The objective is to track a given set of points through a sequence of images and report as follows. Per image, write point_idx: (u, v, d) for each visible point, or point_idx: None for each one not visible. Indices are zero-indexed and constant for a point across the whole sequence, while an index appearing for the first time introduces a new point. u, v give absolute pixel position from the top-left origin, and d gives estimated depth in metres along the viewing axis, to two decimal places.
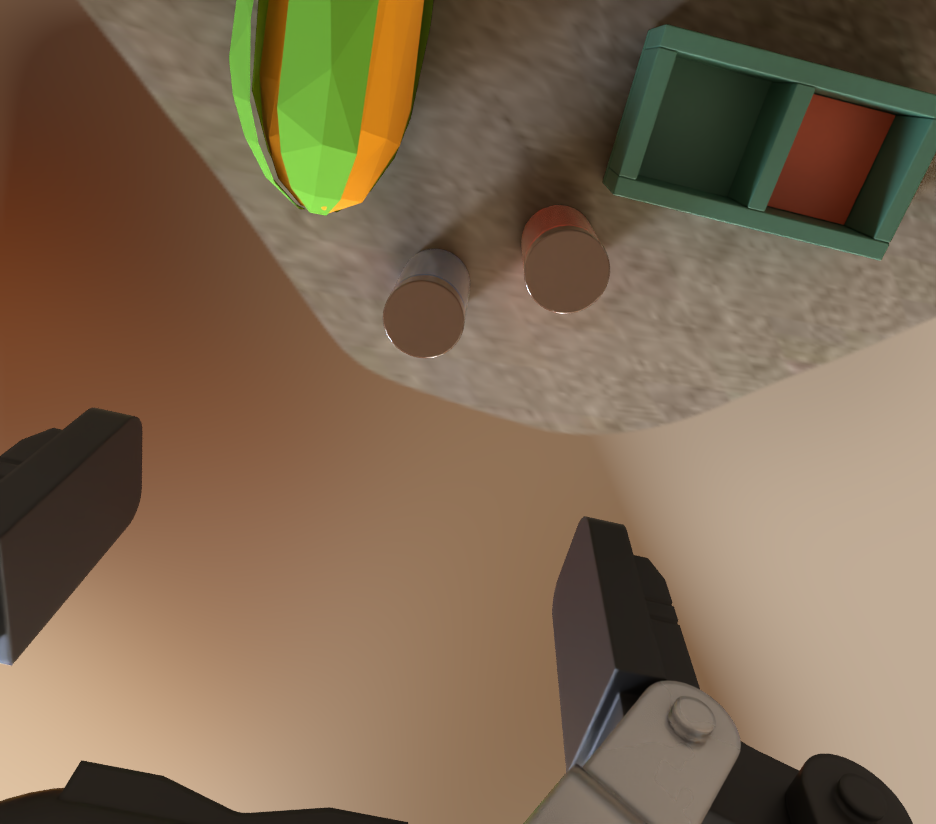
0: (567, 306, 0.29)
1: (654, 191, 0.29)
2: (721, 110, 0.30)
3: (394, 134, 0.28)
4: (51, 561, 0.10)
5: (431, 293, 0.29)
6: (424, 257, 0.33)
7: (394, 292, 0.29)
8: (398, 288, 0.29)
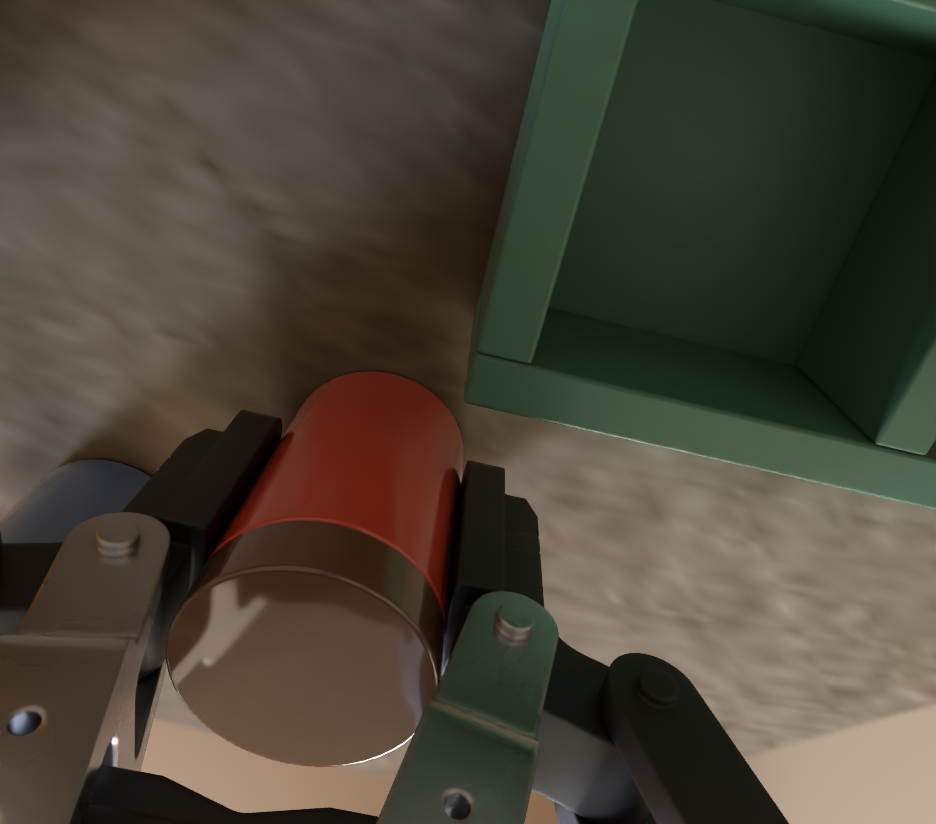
0: (320, 753, 0.09)
1: (589, 397, 0.09)
2: (787, 144, 0.11)
3: None
4: None
5: None
6: (28, 506, 0.13)
7: None
8: None
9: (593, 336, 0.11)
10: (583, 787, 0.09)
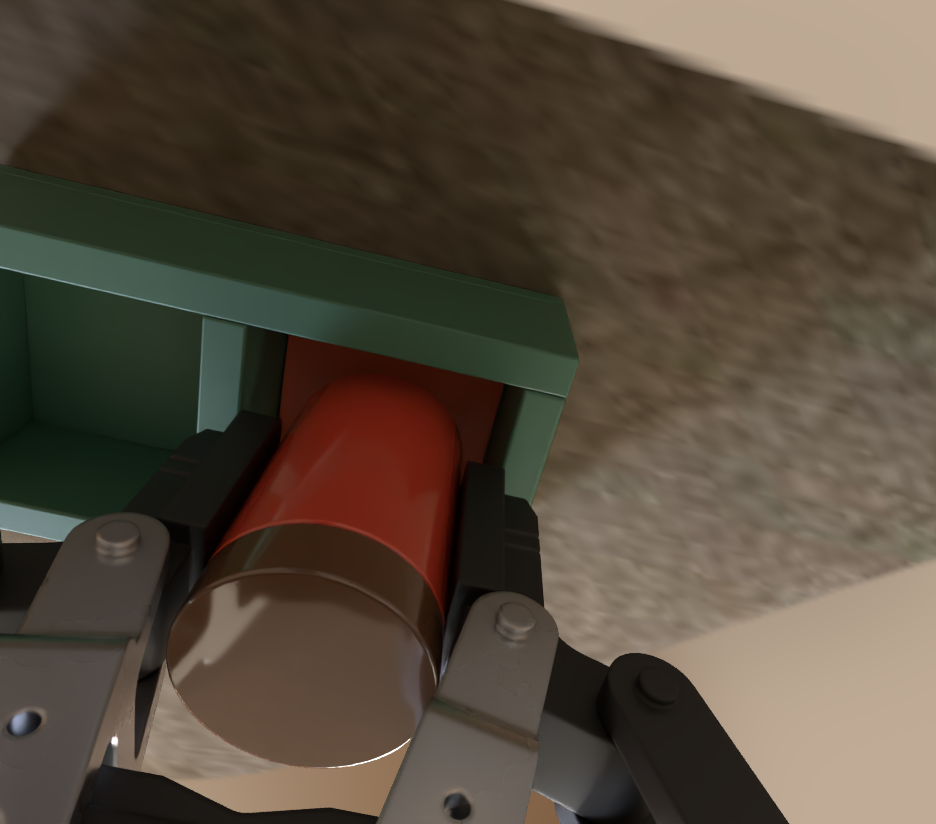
0: (320, 755, 0.09)
1: None
2: (177, 320, 0.15)
3: None
4: None
5: None
6: None
7: None
8: None
9: (55, 452, 0.16)
10: (583, 787, 0.09)
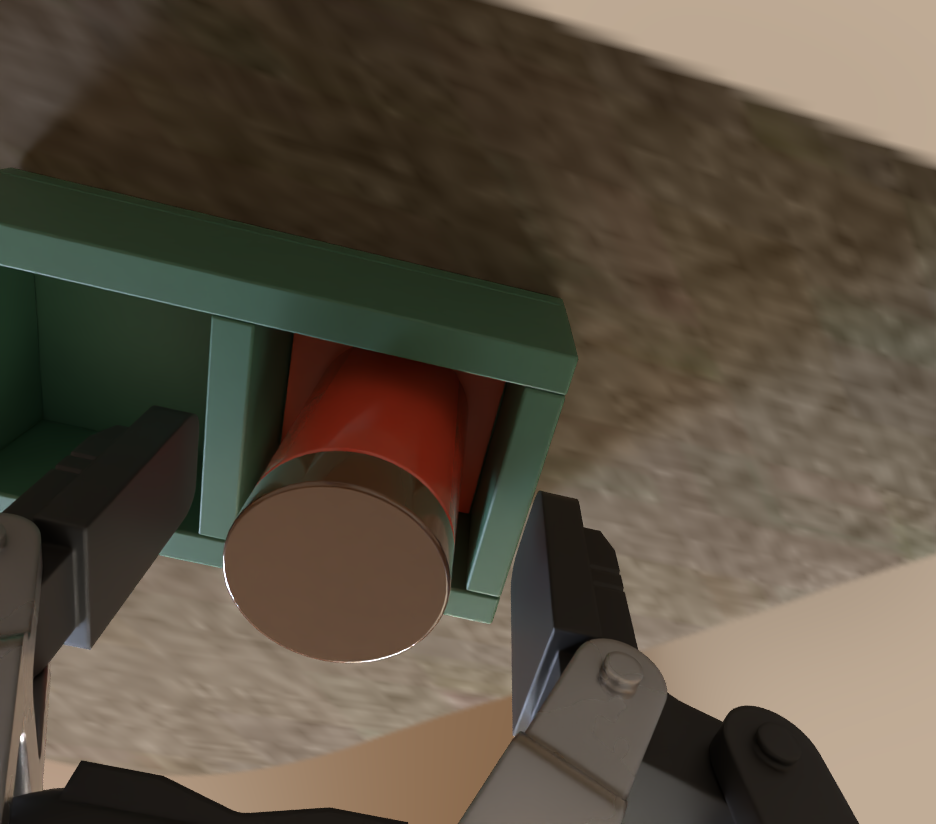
0: (349, 650, 0.11)
1: (1, 504, 0.14)
2: (184, 320, 0.15)
3: None
4: (124, 550, 0.10)
5: None
6: None
7: None
8: None
9: (64, 450, 0.16)
10: None
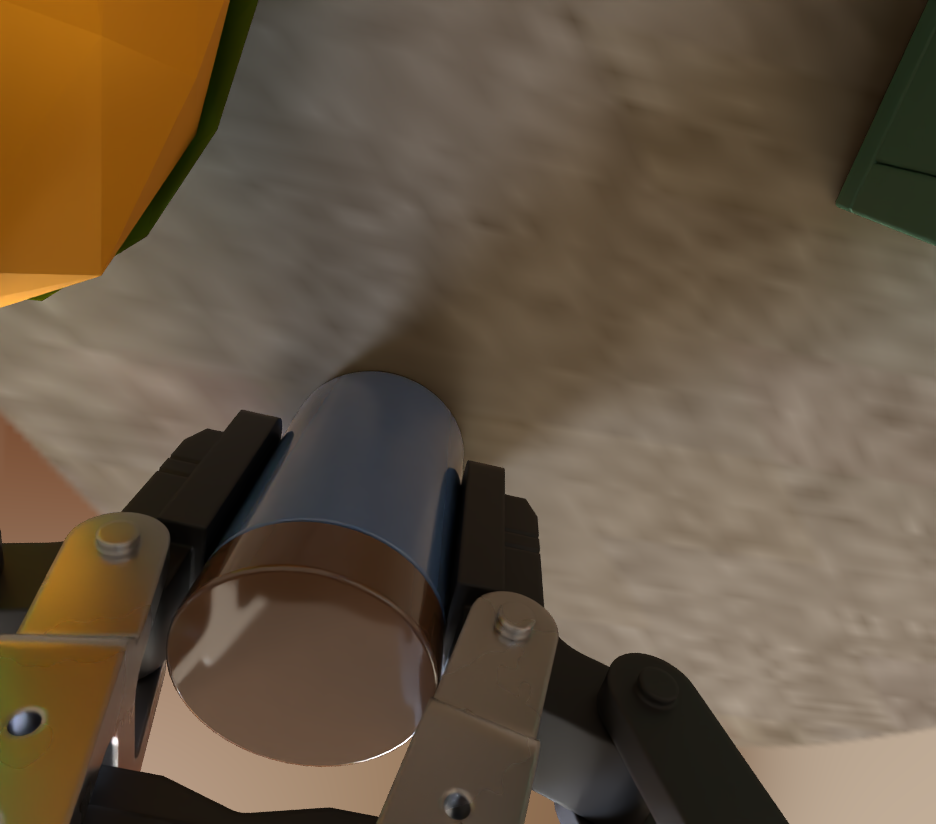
0: None
1: None
2: None
3: (152, 24, 0.07)
4: None
5: (321, 605, 0.08)
6: (335, 411, 0.12)
7: (192, 599, 0.08)
8: (205, 587, 0.08)
9: None
10: (583, 787, 0.09)
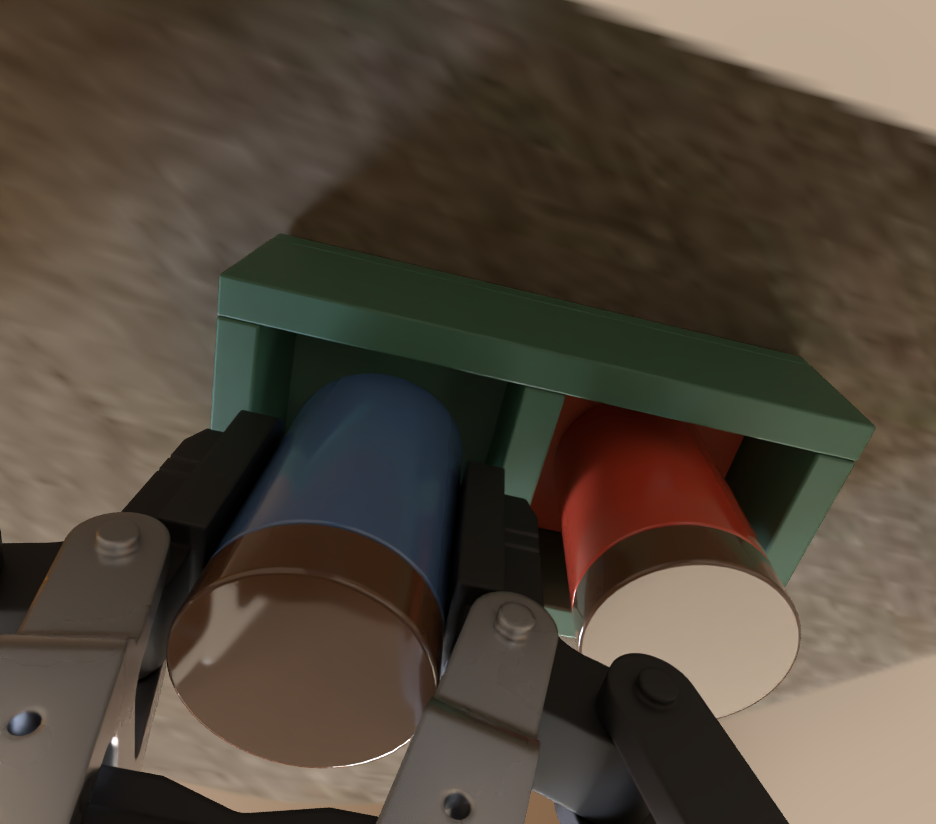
0: None
1: None
2: (435, 377, 0.16)
3: None
4: None
5: (321, 607, 0.08)
6: (335, 413, 0.12)
7: (192, 602, 0.08)
8: (205, 589, 0.08)
9: None
10: (583, 787, 0.09)
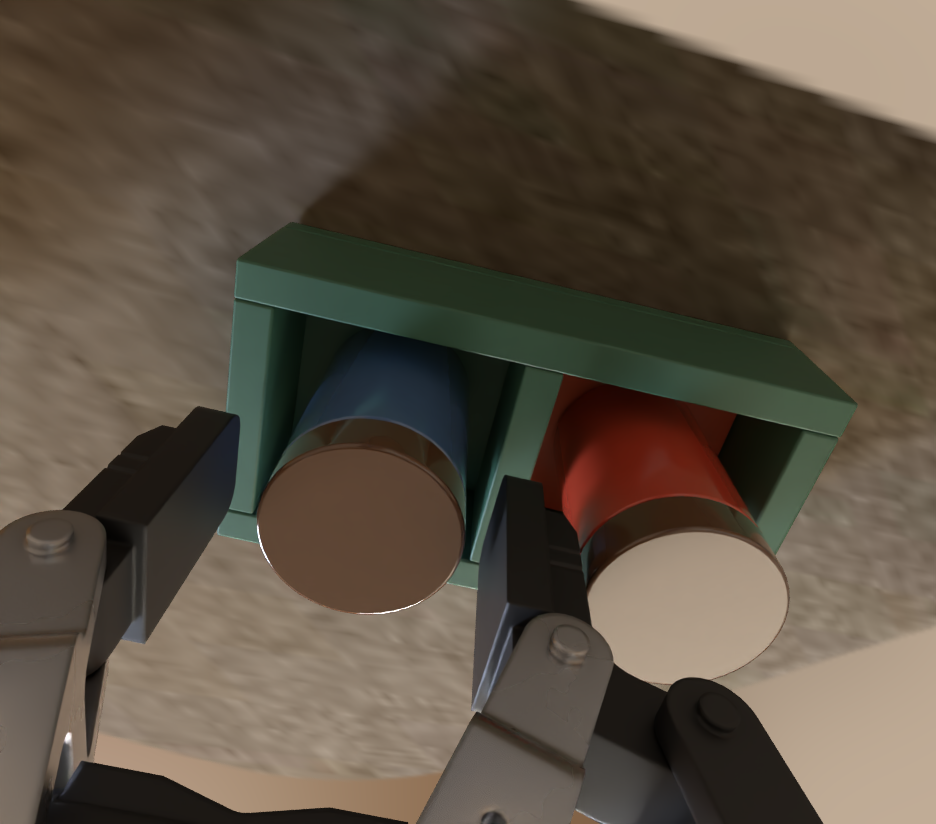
0: (678, 673, 0.12)
1: None
2: None
3: None
4: (175, 547, 0.10)
5: (379, 475, 0.11)
6: (369, 350, 0.15)
7: (281, 472, 0.11)
8: (291, 462, 0.11)
9: None
10: (640, 814, 0.08)
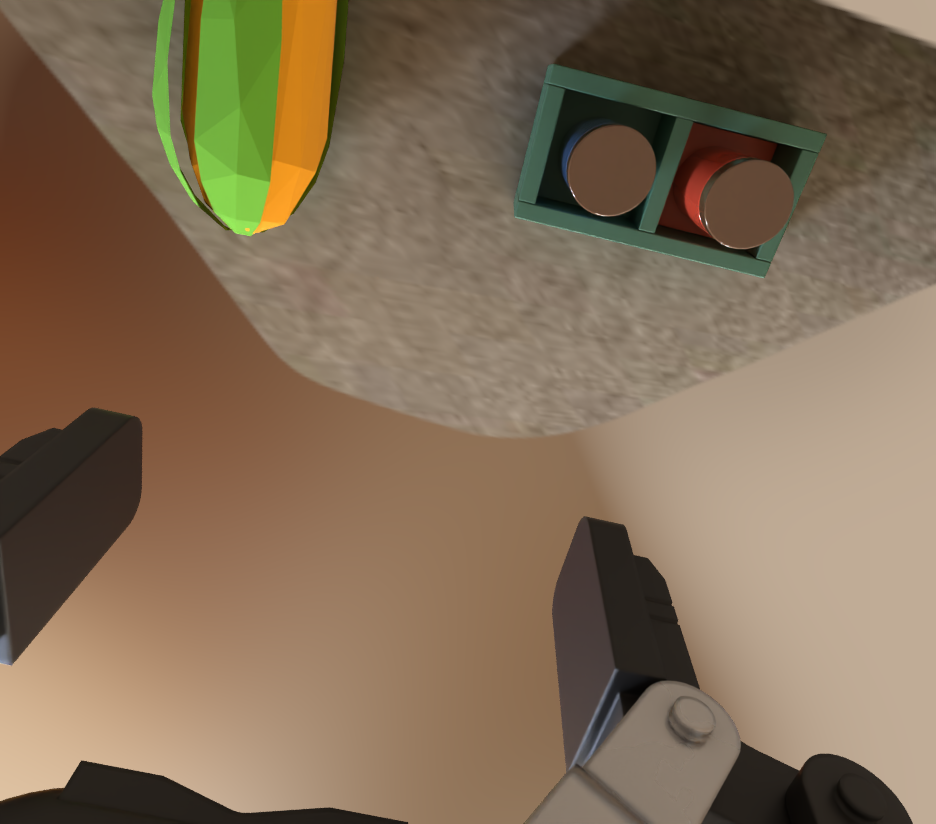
0: (745, 241, 0.29)
1: (552, 214, 0.32)
2: None
3: (309, 162, 0.30)
4: (51, 561, 0.10)
5: (624, 139, 0.27)
6: (595, 119, 0.31)
7: (584, 138, 0.27)
8: (589, 134, 0.27)
9: (555, 203, 0.33)
10: None
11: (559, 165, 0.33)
